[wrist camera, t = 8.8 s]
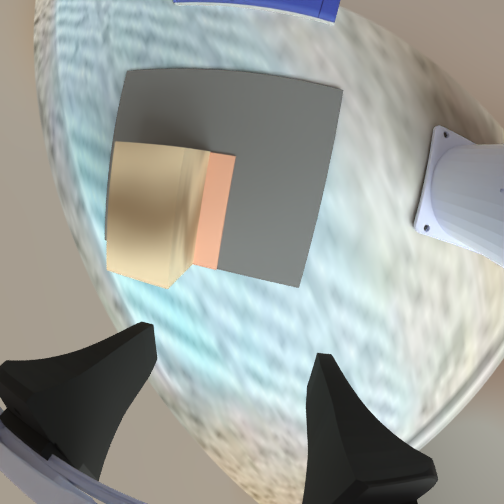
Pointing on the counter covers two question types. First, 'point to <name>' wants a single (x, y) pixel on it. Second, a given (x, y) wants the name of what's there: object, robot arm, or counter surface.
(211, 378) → the counter surface
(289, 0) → the hard drive
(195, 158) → the maple block
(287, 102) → the rubber mat
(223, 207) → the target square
